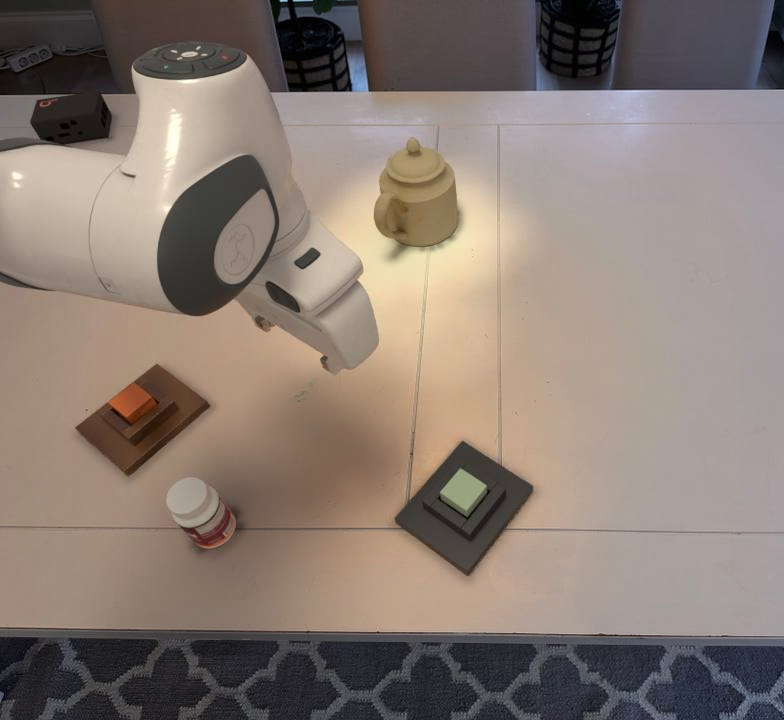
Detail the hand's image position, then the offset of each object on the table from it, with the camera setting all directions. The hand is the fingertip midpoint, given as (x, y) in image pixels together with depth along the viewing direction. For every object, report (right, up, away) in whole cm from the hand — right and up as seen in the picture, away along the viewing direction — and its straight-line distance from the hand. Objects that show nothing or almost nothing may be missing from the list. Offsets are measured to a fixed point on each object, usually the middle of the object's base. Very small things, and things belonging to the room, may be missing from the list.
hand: (300, 345), depth 66 cm
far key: (-24, -7, +14) cm, 29 cm away
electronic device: (-55, +40, +55) cm, 87 cm away
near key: (+16, -16, +6) cm, 23 cm away
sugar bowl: (+9, +18, +36) cm, 41 cm away
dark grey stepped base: (+16, -18, +8) cm, 25 cm away
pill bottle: (-11, -20, +8) cm, 24 cm away
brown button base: (-24, -9, +16) cm, 30 cm away
